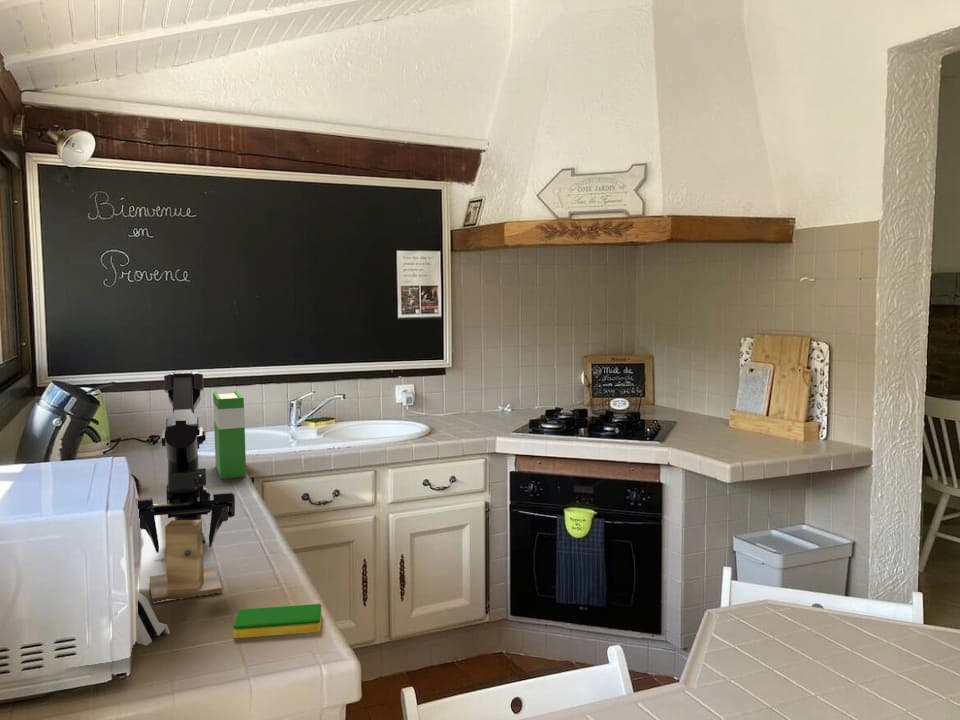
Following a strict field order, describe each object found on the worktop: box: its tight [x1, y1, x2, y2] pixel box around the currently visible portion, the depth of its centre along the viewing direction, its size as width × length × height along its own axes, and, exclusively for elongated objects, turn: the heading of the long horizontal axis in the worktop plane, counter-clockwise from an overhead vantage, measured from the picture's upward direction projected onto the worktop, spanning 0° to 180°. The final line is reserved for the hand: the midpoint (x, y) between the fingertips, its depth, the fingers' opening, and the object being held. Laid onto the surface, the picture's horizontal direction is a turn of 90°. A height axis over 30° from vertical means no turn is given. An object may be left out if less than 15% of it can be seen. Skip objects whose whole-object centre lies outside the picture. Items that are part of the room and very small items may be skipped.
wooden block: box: [164, 519, 205, 590], centre depth 147 cm, size 4×6×12 cm
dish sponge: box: [232, 603, 322, 639], centre depth 133 cm, size 7×14×2 cm, turn 100°
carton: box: [212, 390, 247, 480], centre depth 243 cm, size 18×7×24 cm, turn 23°
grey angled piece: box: [137, 592, 171, 646], centre depth 130 cm, size 17×5×10 cm, turn 62°
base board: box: [149, 567, 223, 603], centre depth 150 cm, size 12×12×1 cm
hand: (184, 548), depth 146 cm, fingers open, 9 cm apart
